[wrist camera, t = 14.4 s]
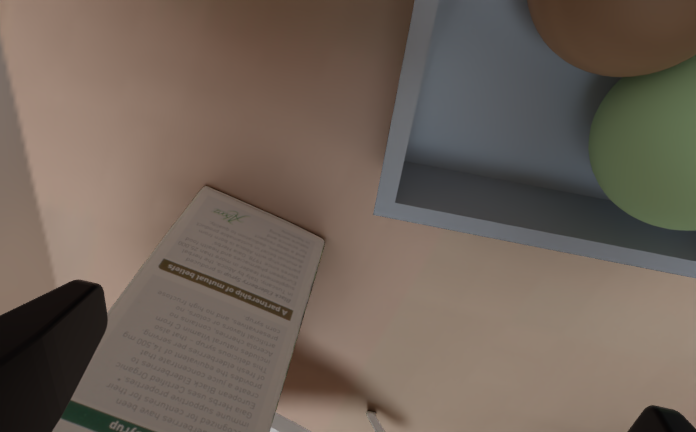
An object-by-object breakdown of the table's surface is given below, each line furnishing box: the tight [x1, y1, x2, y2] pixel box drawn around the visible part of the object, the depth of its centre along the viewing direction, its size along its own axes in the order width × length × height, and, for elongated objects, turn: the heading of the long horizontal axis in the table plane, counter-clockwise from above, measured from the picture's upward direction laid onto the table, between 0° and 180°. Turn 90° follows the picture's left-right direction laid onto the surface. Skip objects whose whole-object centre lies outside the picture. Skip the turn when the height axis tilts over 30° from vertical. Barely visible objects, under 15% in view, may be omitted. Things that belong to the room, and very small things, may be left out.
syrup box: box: [52, 186, 325, 432], centre depth 17 cm, size 6×6×14 cm
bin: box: [373, 0, 696, 278], centre depth 15 cm, size 12×12×4 cm
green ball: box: [588, 55, 696, 231], centre depth 14 cm, size 5×5×5 cm
